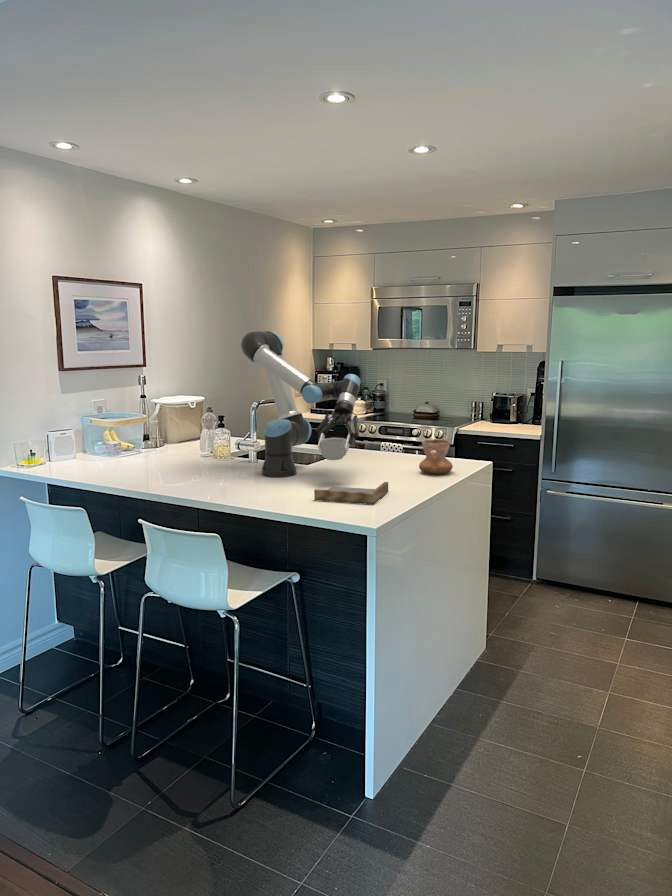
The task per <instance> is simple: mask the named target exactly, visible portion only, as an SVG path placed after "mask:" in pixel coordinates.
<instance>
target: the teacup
mask: <svg viewBox="0 0 672 896" xmlns="http://www.w3.org/2000/svg"><path fill="white" fill-rule="evenodd" d="M346 440H347V438H343V437H328V438H324V439H322V440H320V445H321V450H320V454H321V456H322V457H323V459H324V458H325V459H326V460H327V461H338V460H339V461H340V460H343V458H344V457H345V456H346V455H347V452H346V451H345V444H346Z"/></svg>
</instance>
